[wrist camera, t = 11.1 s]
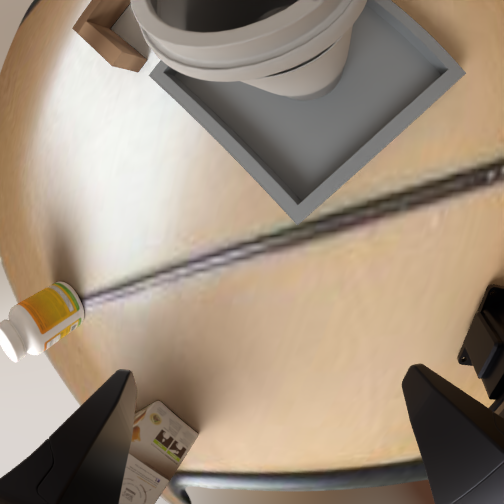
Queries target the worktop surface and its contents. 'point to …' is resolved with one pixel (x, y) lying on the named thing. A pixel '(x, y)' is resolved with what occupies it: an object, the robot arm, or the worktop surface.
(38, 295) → the supplement bottle
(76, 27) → the cubby
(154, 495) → the coffee box
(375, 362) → the worktop surface
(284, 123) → the tray
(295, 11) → the cup
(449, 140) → the worktop surface
